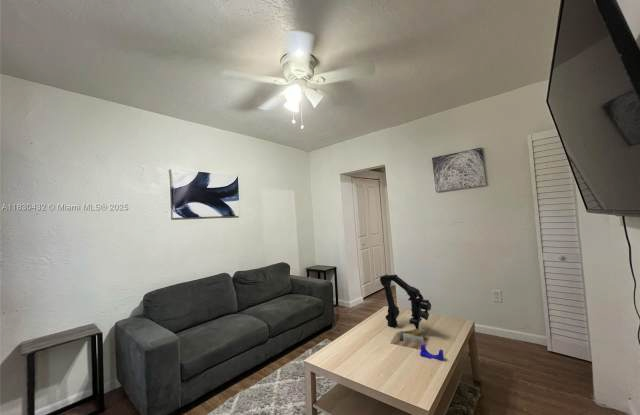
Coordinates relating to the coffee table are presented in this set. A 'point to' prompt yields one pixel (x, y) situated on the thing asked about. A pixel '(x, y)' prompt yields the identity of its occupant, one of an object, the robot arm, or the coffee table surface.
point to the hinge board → (407, 344)
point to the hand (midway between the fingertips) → (417, 329)
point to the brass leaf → (412, 332)
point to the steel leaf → (411, 338)
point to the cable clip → (428, 355)
